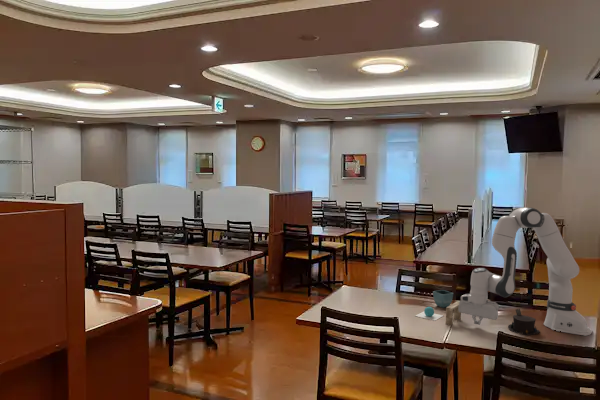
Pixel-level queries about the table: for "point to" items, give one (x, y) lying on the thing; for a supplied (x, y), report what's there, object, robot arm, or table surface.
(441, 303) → the flower pot
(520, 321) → the top hat
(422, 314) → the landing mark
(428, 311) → the ball
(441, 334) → the table surface
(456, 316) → the bridge
